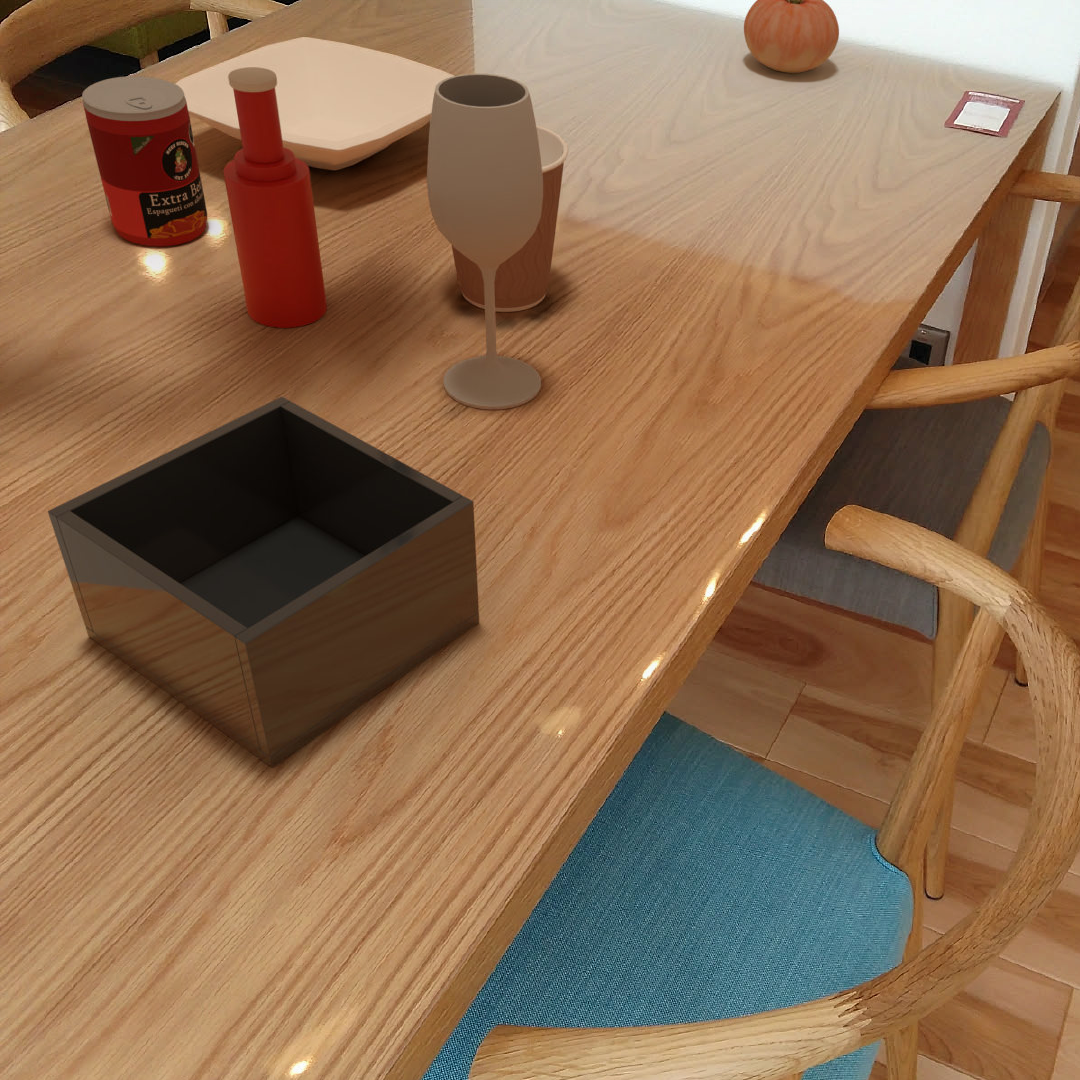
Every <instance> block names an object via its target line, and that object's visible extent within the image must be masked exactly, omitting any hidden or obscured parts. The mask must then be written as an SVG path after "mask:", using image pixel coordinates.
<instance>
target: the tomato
mask: <svg viewBox="0 0 1080 1080" xmlns="http://www.w3.org/2000/svg"><path fill="white" fill-rule="evenodd" d="M743 22H744V23H743V35H744V38H745V39H744V40H745V43H746V46H747V48H748V50H749V52H750V54H751V55H752V56H753V57H754V58H755V60H756V61H758V62H760V63H761V64H762V65H764V66H765V67H767V68H769V69H771V70H774V71H777V72H781V73H788V74H790V73H791V74H792V73H793V74H797V73H804V72H807V71H810V70H811V71H812V70H813V69H816V68H817V67H820V65H822V64H824V63H825V62H826V61H827V60H828V59H829V58H830V57H831V56H832V54H833V52H835V51H834V50H835V49H836V47H837V45H838V41H839V37H840V26H839V23H838V19H837V16H836V14H835V12H834V10H833V9H832V6H830V5H829V4H828V3H827V2H826V1H824V0H756V1H754V3H753V4H752V5H751V6H750V7H749V9H748V11H747V13H746V16H745V18H744V21H743Z"/></svg>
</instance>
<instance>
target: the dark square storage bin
mask: <svg viewBox="0 0 1080 1080" xmlns="http://www.w3.org/2000/svg"><path fill="white" fill-rule="evenodd" d="M47 513H48V517H49V521H50V523H51V526H52V529H53V532H54V535H55V538H56V542H57V544H58V547H59V550H60V554H61V556H62V560H63V562H64V566H65V568H66V573H67V575H68V578H69V581H70V583H71V587H72V590H73V593H74V597H75V600H76V602H77V605H78V608H79V611H80V615H81V617H82V621H83V623H84V627H85V631H86V633H87V636H88V637H89V638H90V639H92V640H93V641H94V642H96V643H97V644H98V645H99V646H101V647H102V648H104V649H105V650H107V651H108V652H110V653H111V654H113V655H114V656H115V657H116V658H118V659H119V660H121V661H122V662H124V663H125V664H127V665H128V666H130V667H131V668H132V669H134V670H135V671H137V672H138V673H139V674H141V675H142V676H144V677H145V678H146V679H147V680H149V681H151V682H152V683H153V684H155V685H156V686H158V687H159V688H160V689H162V690H163V691H164V692H166V693H167V694H168V695H170V696H171V697H173V698H174V699H175V700H177V701H178V702H179V703H181V704H183V706H185V707H186V708H188V709H190V710H191V711H192V712H194V713H195V714H196V715H198V716H199V717H201V718H202V719H203V720H205V721H206V722H207V723H209V724H211V725H212V726H213V727H215V728H216V729H218V730H219V731H220V732H222V733H223V734H225V735H226V736H227V737H228V738H230V739H231V740H233V741H234V742H236V743H237V744H239V745H240V746H241V747H242V748H244V749H246V750H247V751H248V752H250V753H251V754H253V755H254V756H255V757H257V758H258V759H260V760H261V761H262V762H264V763H265V764H267V766H269V767H271V768H275V767H276V766H278V765H279V764H280V763H282V762H283V761H284V760H286V759H287V758H289V757H290V756H291V755H293V754H294V753H296V752H297V751H298V750H300V749H301V748H303V747H305V746H306V745H307V744H308V743H310V742H312V741H313V740H314V739H316V738H317V737H318V736H320V735H322V734H323V733H324V732H325V731H327V730H328V729H329V728H331V727H332V726H335V725H336V724H337V723H338V722H340V721H341V720H342V719H344V718H345V717H347V716H348V715H350V714H351V713H352V712H354V711H356V709H359V708H360V707H361V706H363V705H364V704H365V703H366V702H368V701H370V700H371V699H373V698H374V697H375V696H376V695H379V693H381V692H382V691H384V690H385V689H387V688H388V687H389V686H391V685H392V684H394V683H395V682H396V681H397V680H398V681H399V679H401V678H402V677H403V676H405V675H406V674H408V673H409V672H410V671H412V670H413V669H415V668H416V667H418V666H420V664H422V663H423V662H425V661H426V660H427V659H429V658H431V656H433V655H434V654H436V653H438V652H439V651H441V649H443V648H444V647H446V646H447V645H449V644H451V642H453V641H454V640H456V639H458V637H460V636H462V635H463V634H464V633H466V632H468V631H469V630H470V629H471V628H473V627H474V626H476V625H477V624H479V623H480V606H479V604H480V603H479V587H478V566H477V565H478V564H477V546H476V544H477V543H476V524H475V504H474V500H472V499H470V498H468V497H467V496H464V495H463V494H461V493H459V492H457V491H455V490H454V489H452V488H450V487H448V486H446V485H445V484H442V483H441V482H439V481H437V480H435V479H434V478H431V477H430V476H428V475H426V474H424V473H422V472H420V471H419V470H417V469H415V468H414V467H412V466H410V465H408V464H406V463H404V462H403V461H401V460H399V459H397V458H395V457H394V456H391V454H390V455H389V454H388V453H386V452H384V451H382V450H381V449H379V448H377V447H375V446H373V445H371V444H370V443H368V442H366V441H364V440H362V439H361V438H359V437H357V436H355V435H353V434H352V433H350V432H348V431H346V430H345V429H343V428H340V427H338V426H337V425H335V424H334V423H332V422H330V421H327V420H326V419H324V418H322V417H320V416H319V415H317V414H316V413H313V412H311V411H310V410H308V409H306V408H304V407H302V406H301V405H299V404H297V403H296V402H293V401H291V400H289V399H288V398H286V397H284V396H279V397H277V398H275V399H274V400H271V401H269V402H268V403H265V404H263V405H261V406H259V407H257V408H255V409H253V410H251V411H249V412H247V413H245V414H243V415H241V416H239V417H237V418H234V419H233V420H231V421H229V422H227V423H224V424H222V425H220V426H218V427H216V428H214V429H212V430H210V431H208V432H206V433H204V434H201V435H200V436H198V437H196V438H194V439H191V440H190V441H187V442H186V443H183V444H182V445H180V446H178V447H175V448H172V449H171V450H169V451H167V452H165V453H163V454H161V455H159V456H157V457H155V458H153V459H151V460H148V461H147V462H145V463H143V464H141V465H139V466H136V467H134V468H132V469H130V470H128V471H126V472H125V473H122V474H120V475H118V476H117V477H114V478H112V479H110V480H107V481H106V482H104V483H102V484H100V485H98V486H96V487H94V488H92V489H89V490H88V491H86V492H84V493H82V494H80V495H77V496H75V497H74V498H73V497H72V498H71V499H70V500H68V501H65V502H63V503H60V504H59V505H56V506H55V507H53V508H51V509H49V510H48V511H47Z"/></svg>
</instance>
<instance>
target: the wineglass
mask: <svg viewBox="0 0 1080 1080" xmlns="http://www.w3.org/2000/svg"><path fill="white" fill-rule="evenodd" d="M536 125H537V123H536V116H535V112H534V107H533V101H532V99H531V94H530V90H529V88H528V87H527V86H526V85H525V84H524V83H522V82H521V81H519V80H516V79H514V78H511V77H508V76H503V75H498V74H490V73H463V74H458V75H454V76H453V77H449V78H446V79H444V80H442V81H440V82H439V83H438V84H437V85H436V88H435V92H434V98H433V105H432V112H431V121H430V122H429V131H428V146H427V166H426V185H427V186H426V188H427V198H428V202H429V203H428V204H429V208H430V212H431V216H432V218H433V221H434V223H435V224H436V227H437V229H438V231H439V232H440V233H441V235H442V236H443V237H444V238H445V239H446V240H447V241H448V243H449V244H450V245H451V247H452V246H453V247H454V248H455V249H457V250H458V251H459V252H460V253H462V254H463V255H464V256H466V257H467V258H468V259H470V260H471V261H473V262H474V263H476V264H477V265H478V266H479V268H480V270H481V272H482V276H483V281H484V298H485V309H484V320H485V347H486V349H485V351H486V352H485V355H481V356H473V357H471V358H467V359H463V360H461V361H459V362H457V363H454V364H453V365H452V366H451V367H449V368H448V369H447V370H446V372H445V373H444V375H443V379H442V380H443V381H442V383H443V384H442V385H443V387H444V388H443V389H444V391H445V392H446V393H447V395H448V396H449V397H450V398H451V399H453V401H454V400H455V402H457V403H460V404H462V405H464V406H467V407H471V408H474V409H481V410H491V411H492V410H505V409H506V410H507V409H511V408H517V407H519V406H522V405H524V404H526V403H528V402H530V401H532V400H533V399H534V398H535V397H537V396H538V394H539V393H540V391H541V389H542V378H541V376H540V373H539V372H538V371H537V370H536V368H535V367H534V366H532V365H530V364H529V363H528V362H524V361H522V360H520V359H518V358H514V357H509V356H503V355H498V351H497V326H496V325H497V323H496V322H497V321H496V311H495V290H494V281H495V274H496V270H497V269H498V267H499V265H500V264H502V263H503V262H504V261H506V260H507V259H509V258H510V257H511V256H512V255H514V254H515V253H516V252H517V251H519V250H520V249H521V248H522V247H523V246H524V245H525V244H526V242H527V241H528V240H529V239H530V238H531V236H532V235H533V234H534V232H535V230H536V228H537V225H538V223H539V220H540V218H541V211H542V202H543V175H542V165H541V157H540V149H539V141H538V134H537V128H536Z"/></svg>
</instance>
